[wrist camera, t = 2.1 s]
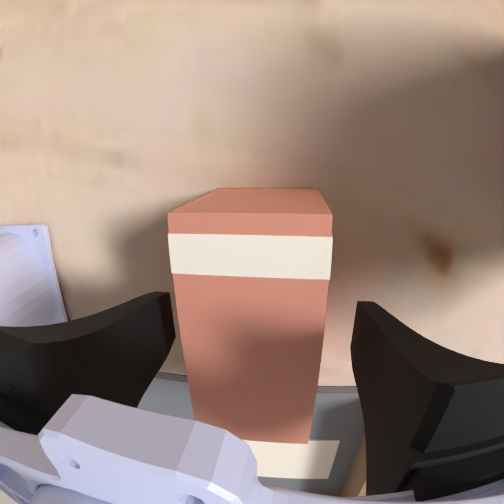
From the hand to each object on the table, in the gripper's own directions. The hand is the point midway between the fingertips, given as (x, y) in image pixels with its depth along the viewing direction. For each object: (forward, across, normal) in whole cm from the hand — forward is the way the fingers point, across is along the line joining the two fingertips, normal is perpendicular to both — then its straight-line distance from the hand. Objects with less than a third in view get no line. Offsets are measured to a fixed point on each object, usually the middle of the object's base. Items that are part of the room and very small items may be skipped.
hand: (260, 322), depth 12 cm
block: (+4, 0, 0) cm, 4 cm away
